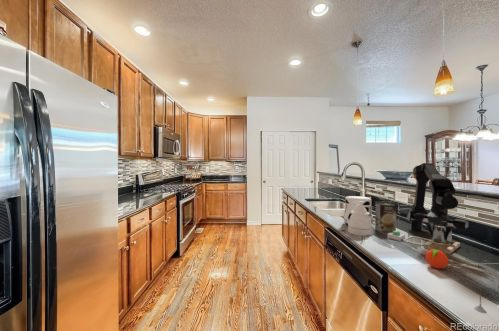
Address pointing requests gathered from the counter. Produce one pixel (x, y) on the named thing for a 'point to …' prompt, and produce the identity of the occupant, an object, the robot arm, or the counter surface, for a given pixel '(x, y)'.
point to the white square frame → (400, 237)
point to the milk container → (353, 202)
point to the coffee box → (385, 217)
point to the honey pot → (360, 221)
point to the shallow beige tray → (442, 246)
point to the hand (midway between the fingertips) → (439, 238)
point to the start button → (396, 233)
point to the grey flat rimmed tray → (415, 243)
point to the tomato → (437, 258)
